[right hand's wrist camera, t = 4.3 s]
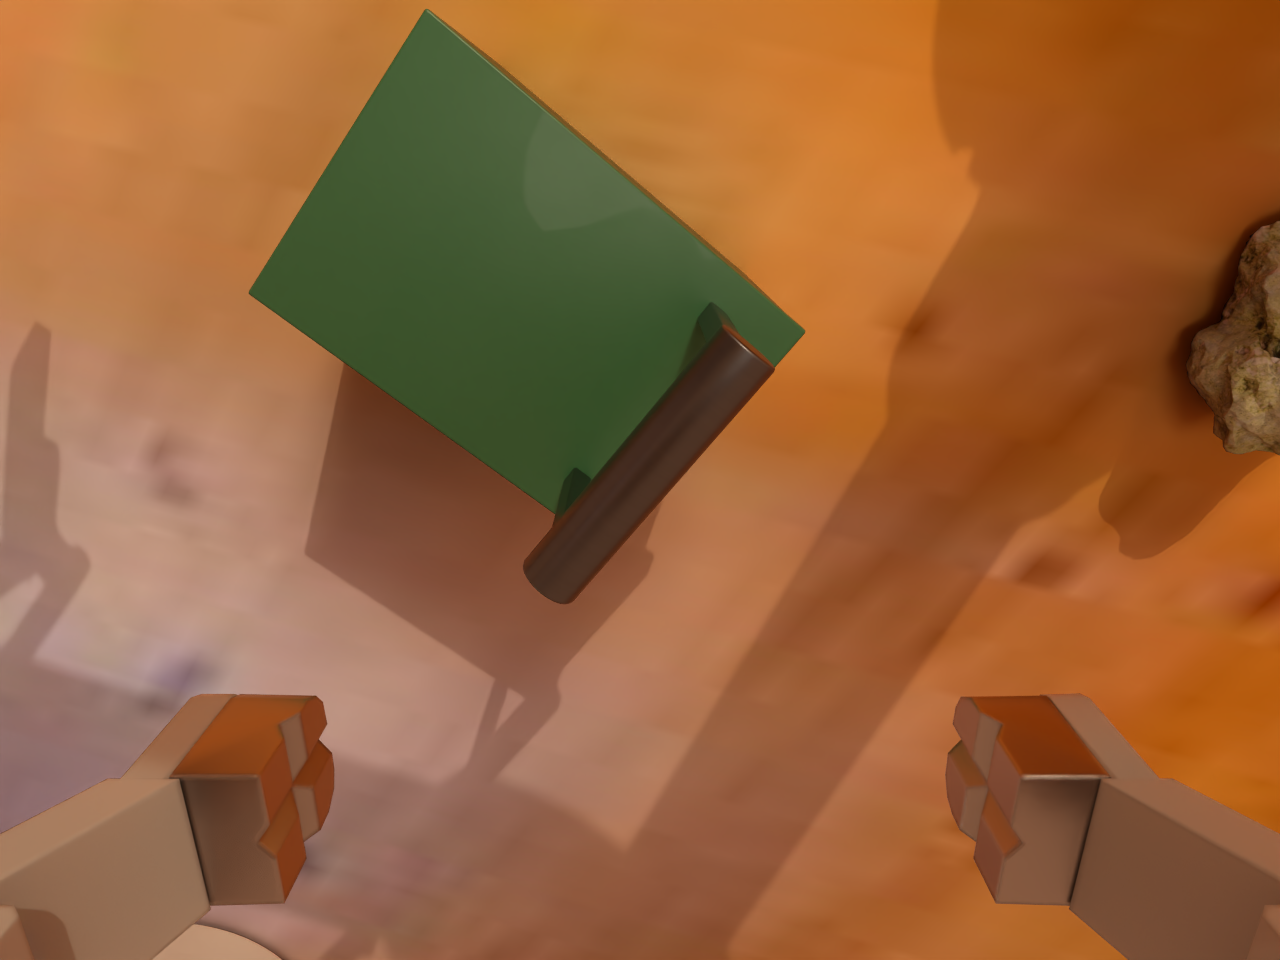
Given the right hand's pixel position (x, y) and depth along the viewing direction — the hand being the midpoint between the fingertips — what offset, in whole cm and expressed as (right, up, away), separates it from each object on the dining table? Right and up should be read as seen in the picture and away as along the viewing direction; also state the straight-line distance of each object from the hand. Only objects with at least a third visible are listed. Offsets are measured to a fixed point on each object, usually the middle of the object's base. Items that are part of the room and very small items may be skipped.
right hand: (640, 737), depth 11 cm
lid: (-3, +9, +15) cm, 18 cm away
